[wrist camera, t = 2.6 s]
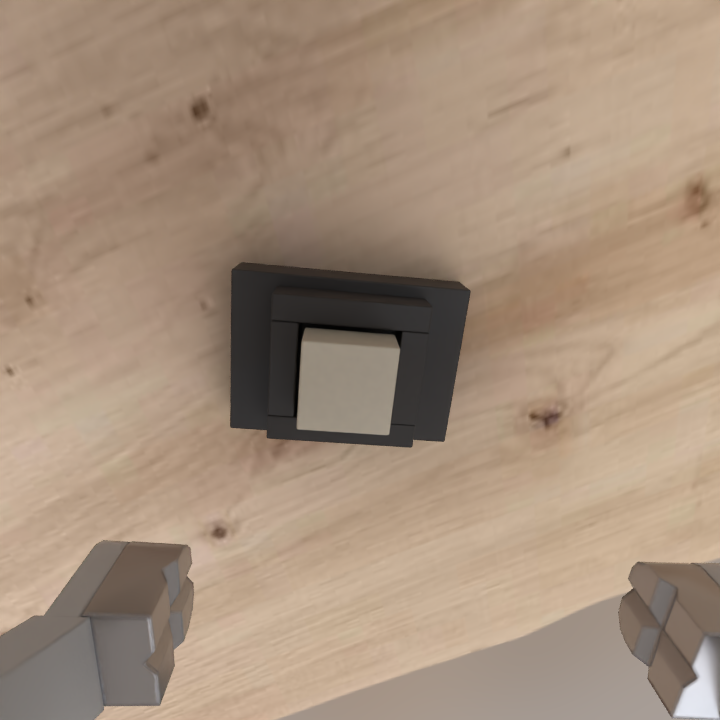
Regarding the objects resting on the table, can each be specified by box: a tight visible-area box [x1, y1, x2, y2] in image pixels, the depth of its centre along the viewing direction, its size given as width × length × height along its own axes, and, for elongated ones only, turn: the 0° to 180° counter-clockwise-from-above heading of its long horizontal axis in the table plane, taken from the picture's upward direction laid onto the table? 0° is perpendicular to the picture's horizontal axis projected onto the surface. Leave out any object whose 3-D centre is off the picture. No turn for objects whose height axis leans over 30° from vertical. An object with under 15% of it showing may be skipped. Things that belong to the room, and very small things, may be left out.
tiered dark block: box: [230, 262, 470, 447], centre depth 23 cm, size 11×8×4 cm
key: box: [297, 328, 400, 435], centre depth 21 cm, size 4×4×2 cm
